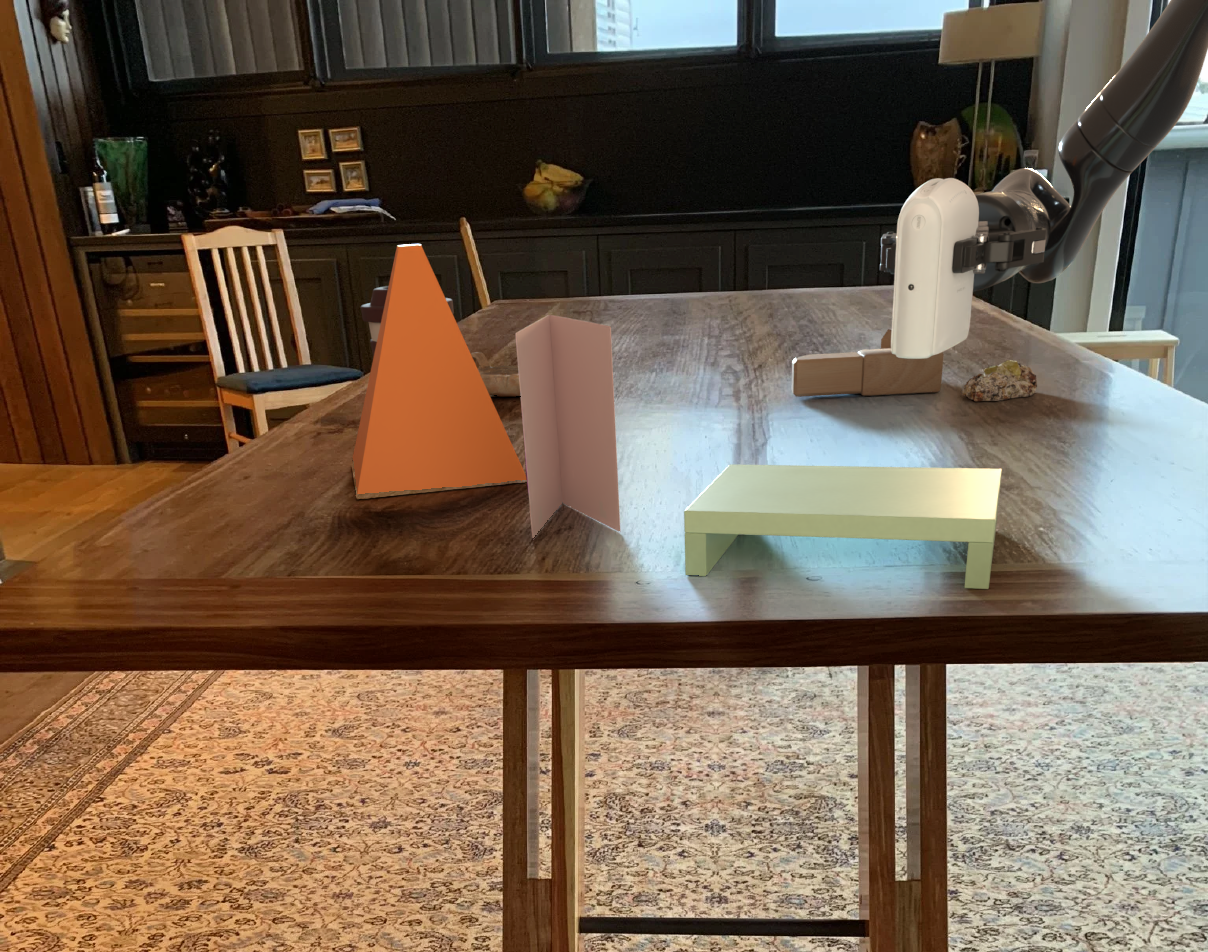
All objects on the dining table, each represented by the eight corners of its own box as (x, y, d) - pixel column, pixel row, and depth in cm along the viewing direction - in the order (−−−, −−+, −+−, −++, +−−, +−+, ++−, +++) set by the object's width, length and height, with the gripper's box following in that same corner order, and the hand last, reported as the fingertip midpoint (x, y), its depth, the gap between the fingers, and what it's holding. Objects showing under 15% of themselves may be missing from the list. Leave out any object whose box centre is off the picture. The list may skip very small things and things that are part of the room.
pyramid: (529, 482, 110) (509, 242, 100) (356, 500, 107) (319, 255, 98) (504, 449, 123) (485, 235, 114) (350, 464, 121) (318, 247, 111)
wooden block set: (953, 341, 136) (794, 350, 137) (949, 393, 139) (793, 401, 139) (919, 323, 151) (777, 331, 152) (916, 370, 154) (776, 378, 154)
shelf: (995, 530, 88) (1002, 468, 86) (988, 589, 76) (995, 519, 74) (729, 522, 94) (729, 464, 92) (685, 575, 82) (683, 510, 80)
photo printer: (936, 360, 92) (949, 179, 86) (883, 358, 94) (892, 182, 89) (975, 340, 100) (989, 173, 94) (924, 339, 102) (935, 176, 96)
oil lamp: (560, 394, 152) (557, 353, 149) (515, 404, 147) (511, 361, 145) (496, 386, 160) (492, 347, 158) (451, 395, 156) (447, 355, 154)
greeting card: (552, 502, 102) (538, 314, 95) (638, 501, 101) (630, 311, 94) (521, 540, 92) (503, 333, 85) (616, 539, 91) (605, 329, 84)
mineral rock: (985, 363, 141) (1049, 347, 135) (991, 401, 142) (1055, 387, 136) (936, 380, 135) (1001, 364, 129) (943, 419, 136) (1008, 405, 130)
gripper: (1065, 285, 103) (1015, 311, 90) (903, 287, 110) (835, 310, 97) (1076, 187, 99) (1025, 200, 87) (909, 195, 106) (838, 207, 93)
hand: (925, 258), depth 92 cm, fingers closed on photo printer, 4 cm apart
